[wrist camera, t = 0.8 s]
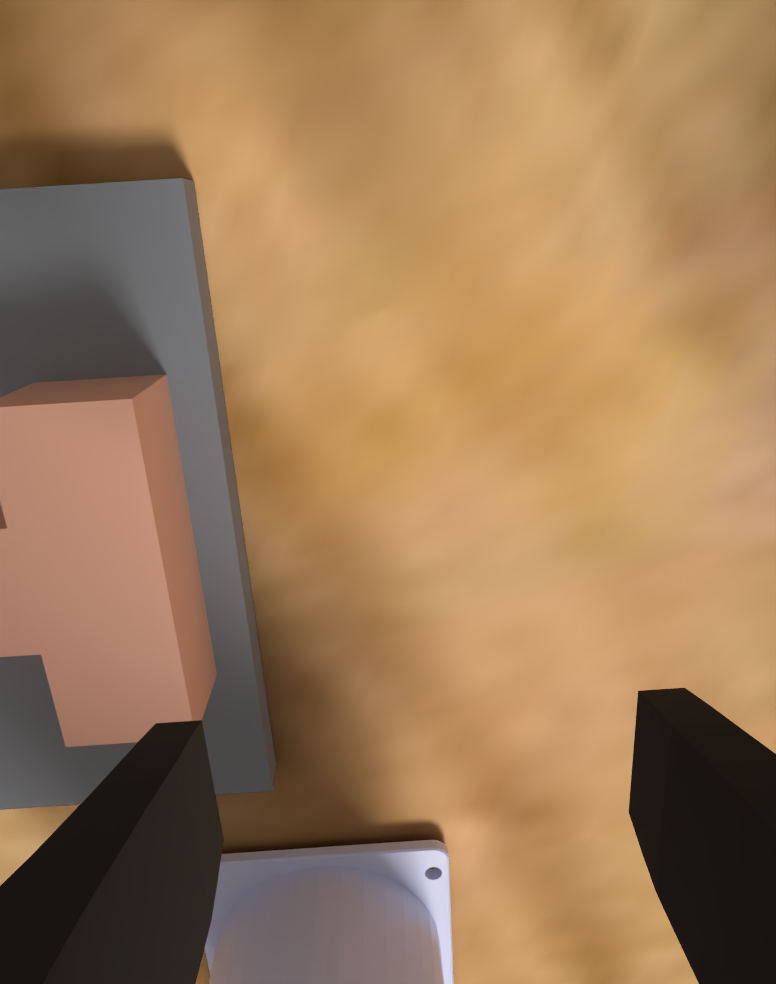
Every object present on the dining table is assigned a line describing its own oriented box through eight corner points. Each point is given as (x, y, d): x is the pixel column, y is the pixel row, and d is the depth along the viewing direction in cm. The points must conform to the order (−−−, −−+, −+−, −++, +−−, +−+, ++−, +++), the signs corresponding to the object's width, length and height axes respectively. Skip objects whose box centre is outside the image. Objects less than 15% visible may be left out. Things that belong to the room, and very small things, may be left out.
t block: (216, 674, 19) (195, 738, 16) (-86, 695, 19) (-152, 761, 16) (166, 374, 16) (131, 399, 13) (-190, 396, 16) (-287, 425, 13)
